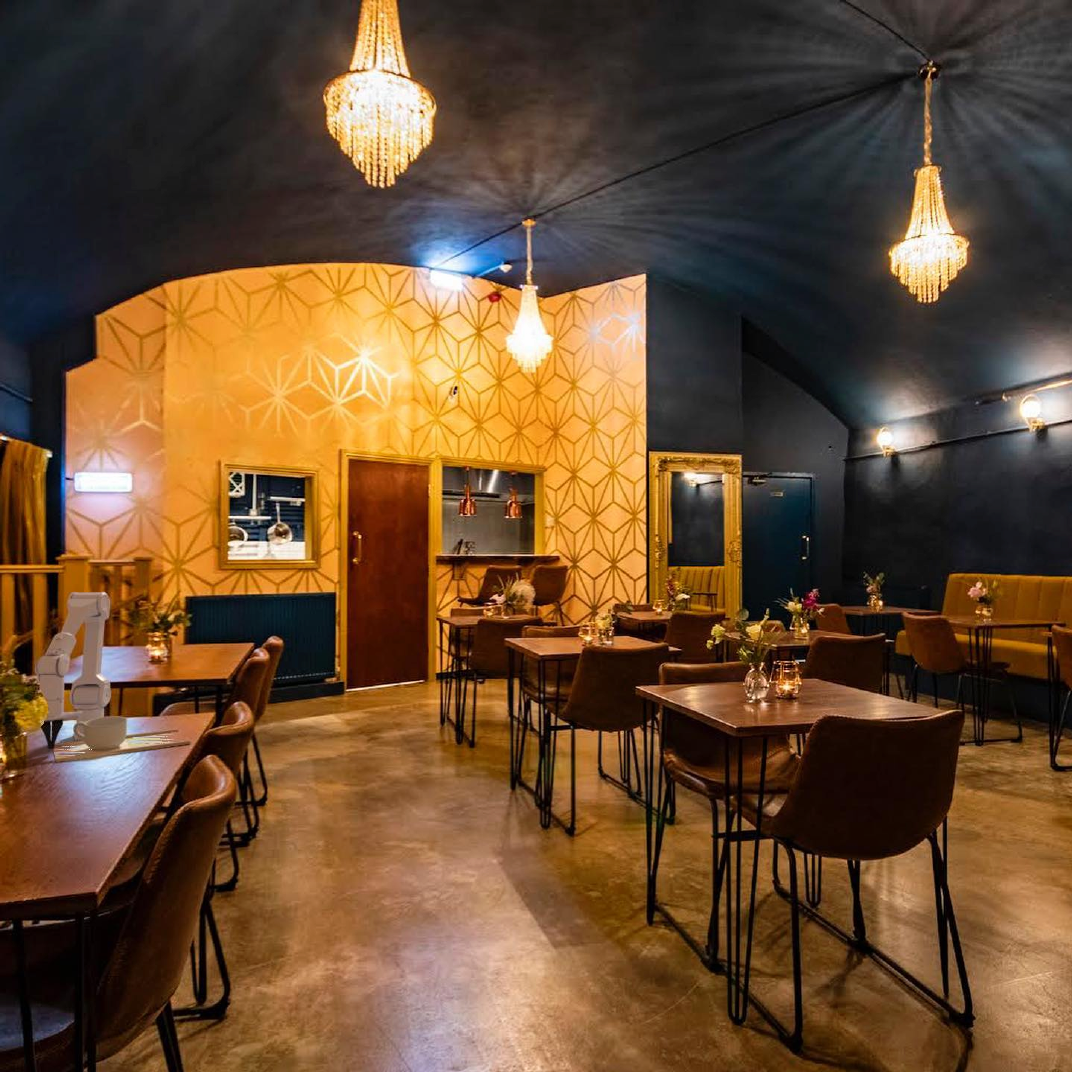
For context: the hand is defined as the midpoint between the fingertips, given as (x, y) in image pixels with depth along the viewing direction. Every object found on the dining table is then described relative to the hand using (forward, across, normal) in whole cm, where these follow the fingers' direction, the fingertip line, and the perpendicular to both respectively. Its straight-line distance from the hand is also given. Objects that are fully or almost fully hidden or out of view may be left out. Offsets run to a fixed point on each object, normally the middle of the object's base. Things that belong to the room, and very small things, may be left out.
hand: (50, 748), depth 207 cm
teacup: (+2, +12, 0) cm, 12 cm away
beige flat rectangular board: (+2, +17, 0) cm, 17 cm away
